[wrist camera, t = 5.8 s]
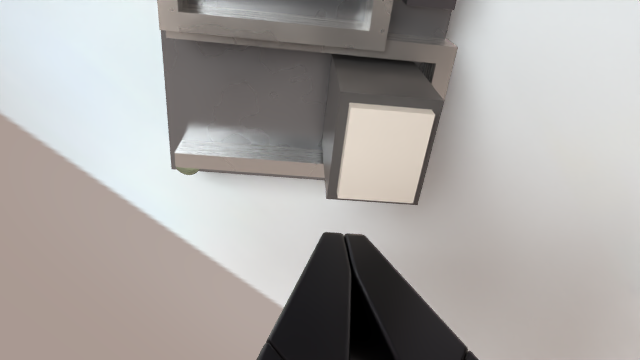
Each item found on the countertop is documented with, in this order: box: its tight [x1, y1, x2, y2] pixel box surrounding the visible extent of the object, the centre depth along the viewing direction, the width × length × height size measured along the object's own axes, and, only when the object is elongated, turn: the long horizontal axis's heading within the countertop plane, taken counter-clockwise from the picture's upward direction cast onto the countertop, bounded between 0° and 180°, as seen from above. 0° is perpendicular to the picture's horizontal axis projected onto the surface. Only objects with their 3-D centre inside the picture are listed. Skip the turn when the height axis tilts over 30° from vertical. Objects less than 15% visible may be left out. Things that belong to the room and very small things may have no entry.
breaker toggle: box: [322, 54, 444, 205], centre depth 15 cm, size 3×4×4 cm
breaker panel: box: [157, 0, 458, 180], centre depth 15 cm, size 10×13×4 cm
